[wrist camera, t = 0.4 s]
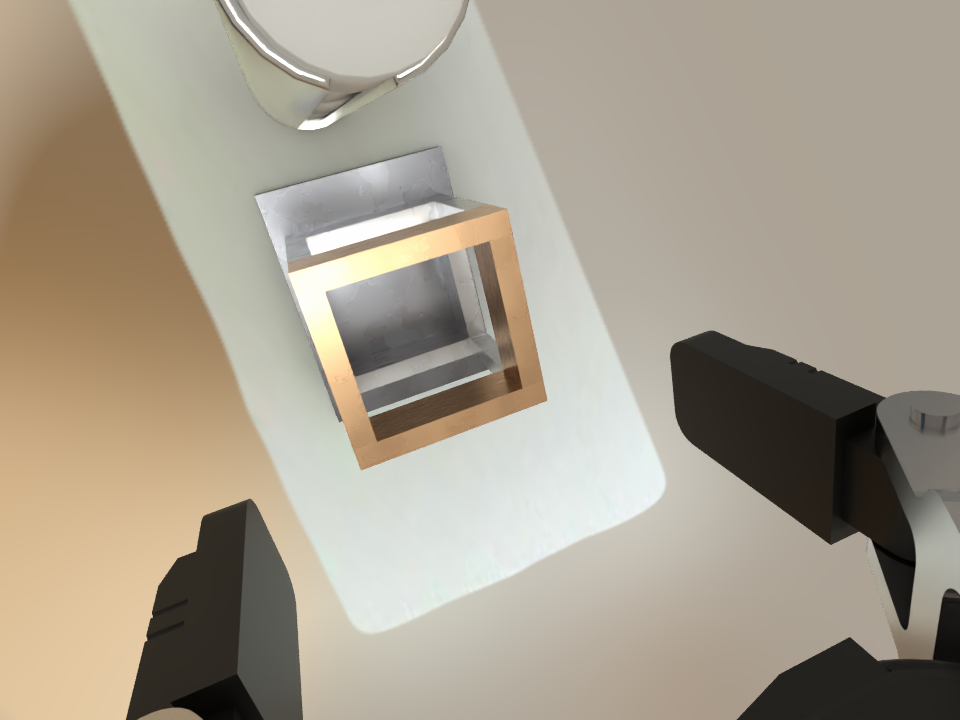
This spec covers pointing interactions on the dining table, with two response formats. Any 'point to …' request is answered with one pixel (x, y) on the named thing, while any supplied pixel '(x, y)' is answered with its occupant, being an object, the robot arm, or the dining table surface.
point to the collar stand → (405, 301)
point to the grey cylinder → (334, 51)
